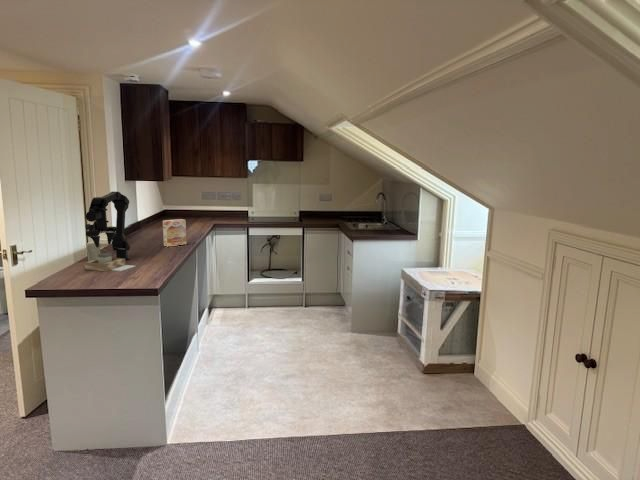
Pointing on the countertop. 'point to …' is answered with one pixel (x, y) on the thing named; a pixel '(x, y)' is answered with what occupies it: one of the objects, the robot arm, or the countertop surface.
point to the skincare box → (92, 251)
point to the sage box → (104, 258)
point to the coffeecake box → (174, 232)
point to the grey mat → (123, 268)
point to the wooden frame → (106, 266)
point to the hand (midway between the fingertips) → (103, 245)
